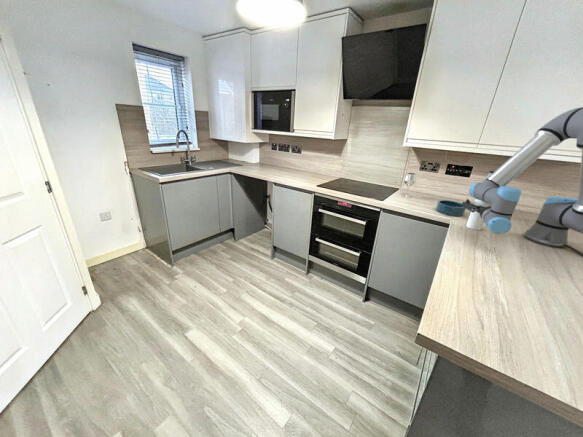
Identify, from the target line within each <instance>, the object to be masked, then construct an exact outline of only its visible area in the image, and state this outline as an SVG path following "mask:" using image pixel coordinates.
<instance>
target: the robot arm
mask: <svg viewBox="0 0 583 437" xmlns="http://www.w3.org/2000/svg"><path fill="white" fill-rule="evenodd" d="M570 139H576V148H577V149H579V150H581V158H580V159H581V160H580V170H579V171H580V172H579V184H578V198H574V197H567V196H549V197H547V198H546V200H545V202H544V203H543V205H542V207H541V210H540V212H539V214H538V216H537V218H536V220H535V223H534V224H532V225H531V226H530V227H529V228H528V229H527V230H526V231H525V233H524V237H525V238H526V239H528V240H530V241H531V242H534V243H537V244H540V245H544V246H547V247H553V248H565V247H566V248H567V249H570V250H571V251H573V252H574V253H577V254H579V255H581V256H582V257H583V252H581V251H579V250H578V249H576V248H574V247H572V246H570V245H568V237H569V230H572V231H575V232H577V233H580V234H583V106H582V107H576V108H572V109H569V110H567V111H565V112H562V113H560V114H558V115H557V116H556V117H554V118H552V119H551V120H549V121H548V122H547V123H545V124H543V125H542V127H540V128H539V129H537V130H536V132H535V133H534V136H533V137H531V139H530V140H529V141H528V142H526V143H525V144H524V145H523V146H522V147H521V148H520V149H519V150H517V152H515V153H514V154H513V155H511V157H509V158H508V159H507V160H506V161H505V162H503V164H501V165H500V166H499V167H498V168H497V169H496V170H494V171H495V172H494V173H492V174H491V175H490V176H489V177H488V178H487V179H486V180H484V179H483V180H484V181H483V180H482V182H475V183H472V184H471V185H470V186H469V189H468V194H469V195H470V196H471V197H472V198H474V200H476V199H478V200H481V201H483V202H486V203H488V204H490V205H491V206H487V207H483V206H477V205H475V204H474V203H471V201H470V199H469V198H467V199H466V200H465V201H462V202H461V203H462V205H461V206H462V207H464V208H466V209H465V210H467V211H470V213H471V212H475V211H476V212H478V213H480V216H481V218H482V219H483V221H484V224H485V225H486V227H487V229H488V230H489V231H490V232H492V233H493V234H496V235H497V234H498V235H502V234H506V233H508V232H509V231H511V229H512V222H511V219H512V217H513V214H514V212H515V209H516V207H517V205H518V203H519V201H520V197H521V195H522V190H521V188H517V187H514V186H508V184H509V183H511V182H512V181H513V180H514V179H515V178H516V177H518V176H519V175H520V174H522V172H524V171H525V170H526V169H527V168H528V167H530V166H531V165H532V164H533V163H535V161H537V160H538V159H539V158H540V157H542V156H543V155H544V154H546V152H548V151H549V150H550V149H551V148H552V147H556V146H558V145H560V144H561V143H562V142H564V141H566V140H570Z"/></svg>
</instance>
